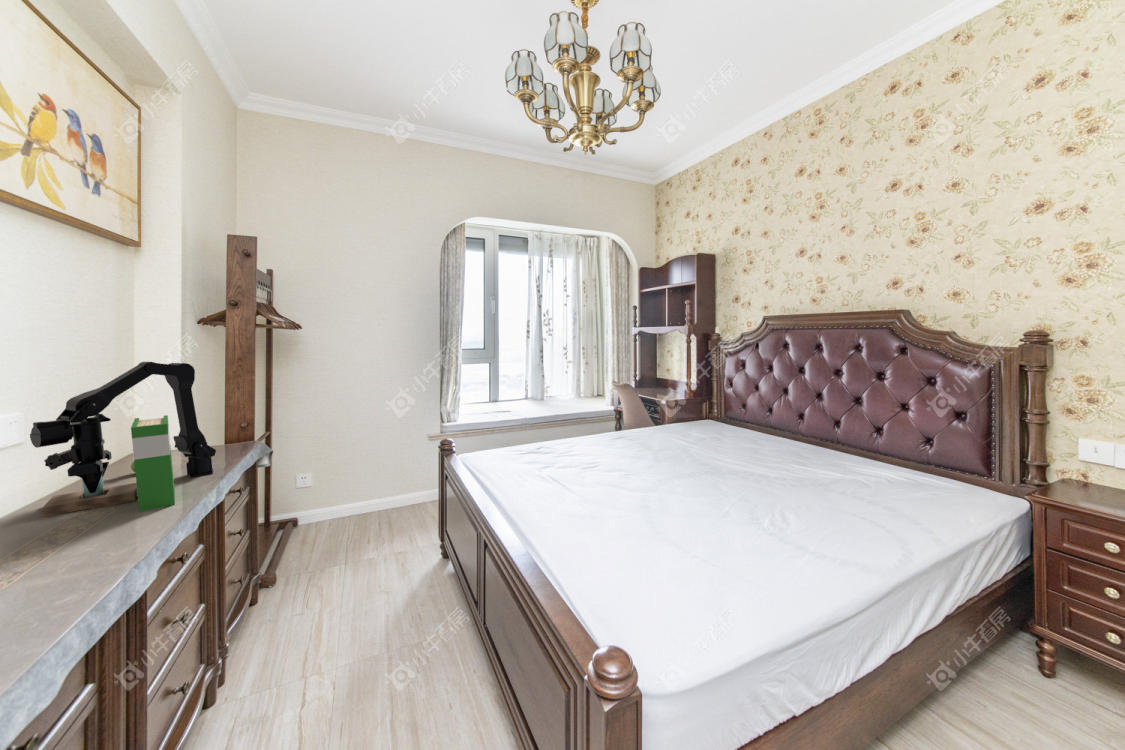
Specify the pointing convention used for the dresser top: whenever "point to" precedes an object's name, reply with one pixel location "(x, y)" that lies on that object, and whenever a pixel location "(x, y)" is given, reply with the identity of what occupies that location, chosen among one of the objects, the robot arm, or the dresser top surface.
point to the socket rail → (90, 499)
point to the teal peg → (98, 492)
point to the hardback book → (153, 463)
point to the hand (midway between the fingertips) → (94, 490)
